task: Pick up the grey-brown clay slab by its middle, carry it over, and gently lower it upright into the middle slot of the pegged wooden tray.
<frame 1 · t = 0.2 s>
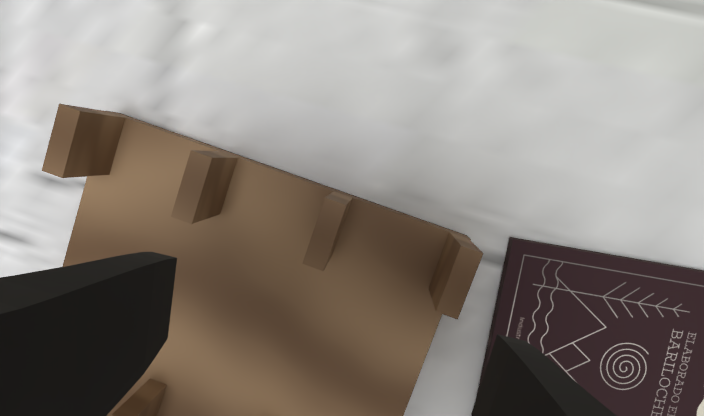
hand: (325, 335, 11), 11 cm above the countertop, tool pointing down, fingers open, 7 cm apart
chocolate bar: (690, 370, 21), on the countertop
pegged wooden tray: (245, 310, 22), on the countertop
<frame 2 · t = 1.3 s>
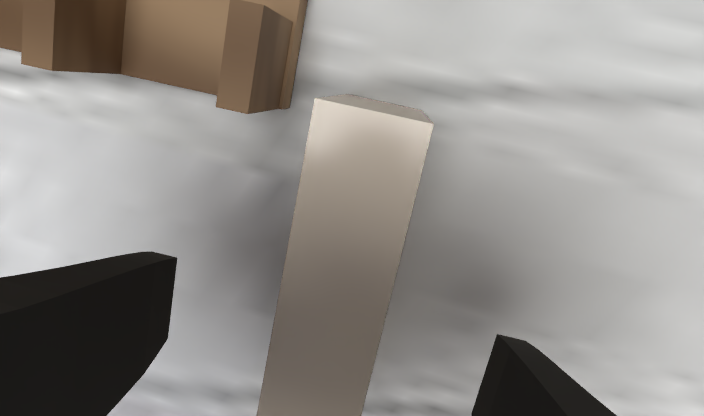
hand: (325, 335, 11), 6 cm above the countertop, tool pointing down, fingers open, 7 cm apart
clay slab: (352, 248, 17), on the countertop
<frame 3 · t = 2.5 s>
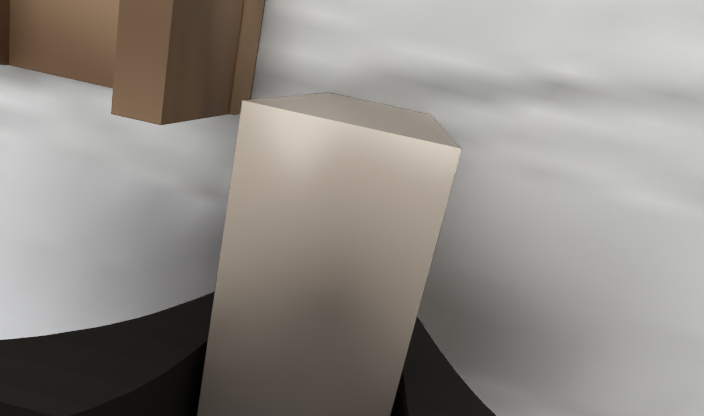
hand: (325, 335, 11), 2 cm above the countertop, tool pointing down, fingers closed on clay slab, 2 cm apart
clay slab: (336, 301, 12), on the countertop, touching gripper
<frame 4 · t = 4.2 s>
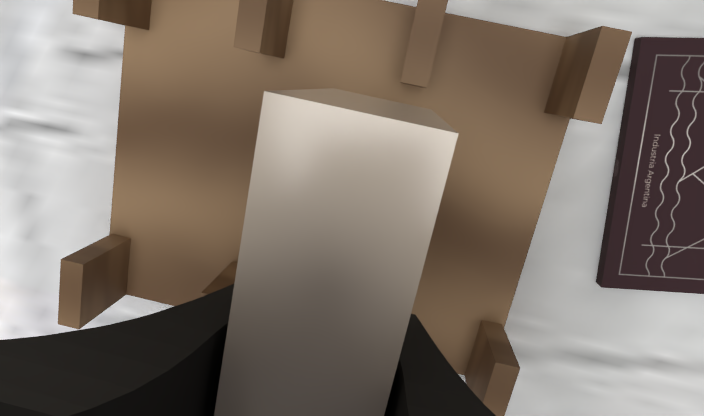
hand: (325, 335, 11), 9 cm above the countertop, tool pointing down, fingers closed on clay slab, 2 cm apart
clay slab: (341, 286, 13), point 7 cm above the countertop, touching gripper
pegged wooden tray: (325, 175, 19), on the countertop
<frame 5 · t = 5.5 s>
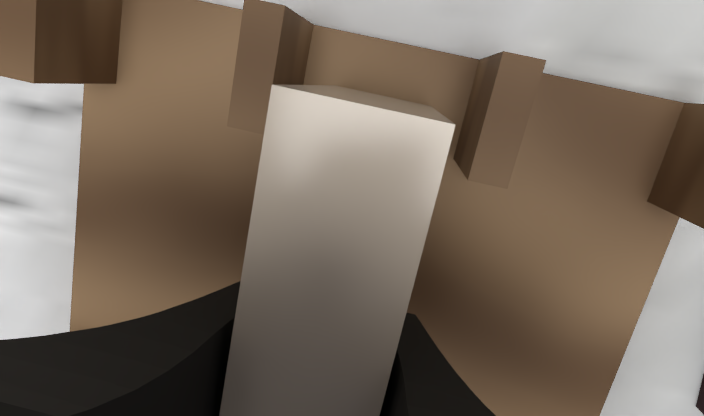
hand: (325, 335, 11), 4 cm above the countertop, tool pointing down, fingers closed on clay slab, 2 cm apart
clay slab: (342, 279, 13), point 1 cm above the countertop, touching gripper
pegged wooden tray: (347, 266, 15), on the countertop
when the fingers open (4 cm above the countertop, at t = 5.9 s): clay slab stays where it is, resting on pegged wooden tray.
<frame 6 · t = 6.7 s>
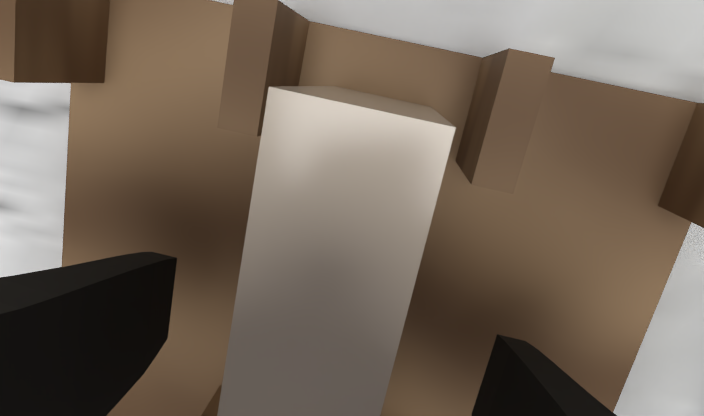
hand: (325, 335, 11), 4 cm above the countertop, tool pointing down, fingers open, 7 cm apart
clay slab: (342, 281, 13), point 1 cm above the countertop, touching pegged wooden tray
pegged wooden tray: (345, 272, 14), on the countertop
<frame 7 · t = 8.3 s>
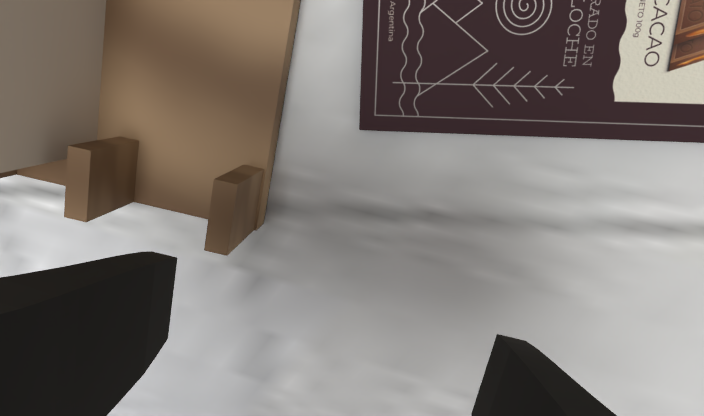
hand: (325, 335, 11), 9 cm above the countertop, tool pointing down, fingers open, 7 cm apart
chocolate bar: (615, 10, 17), on the countertop
clay slab: (74, 12, 18), point 1 cm above the countertop, touching pegged wooden tray
pegged wooden tray: (91, 20, 19), on the countertop
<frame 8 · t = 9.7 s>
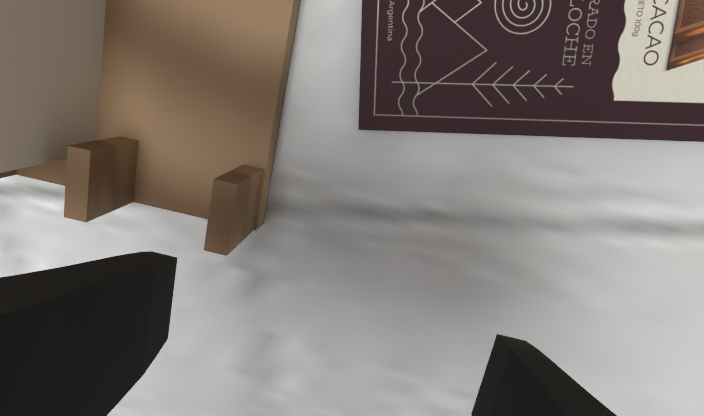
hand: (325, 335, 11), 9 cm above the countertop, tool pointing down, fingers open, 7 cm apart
chocolate bar: (614, 9, 17), on the countertop
clay slab: (73, 12, 18), point 1 cm above the countertop, touching pegged wooden tray
pegged wooden tray: (90, 20, 19), on the countertop
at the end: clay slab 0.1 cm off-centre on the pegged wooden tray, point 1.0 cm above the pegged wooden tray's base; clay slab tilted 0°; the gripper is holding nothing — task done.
